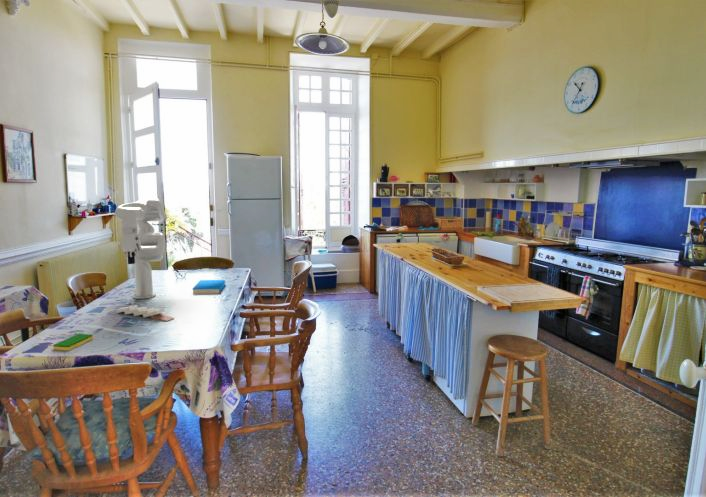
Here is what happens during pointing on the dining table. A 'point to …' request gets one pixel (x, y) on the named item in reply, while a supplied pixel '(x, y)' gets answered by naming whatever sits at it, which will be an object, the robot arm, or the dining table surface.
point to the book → (208, 287)
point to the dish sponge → (73, 342)
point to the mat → (131, 316)
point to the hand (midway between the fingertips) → (131, 263)
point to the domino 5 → (161, 317)
